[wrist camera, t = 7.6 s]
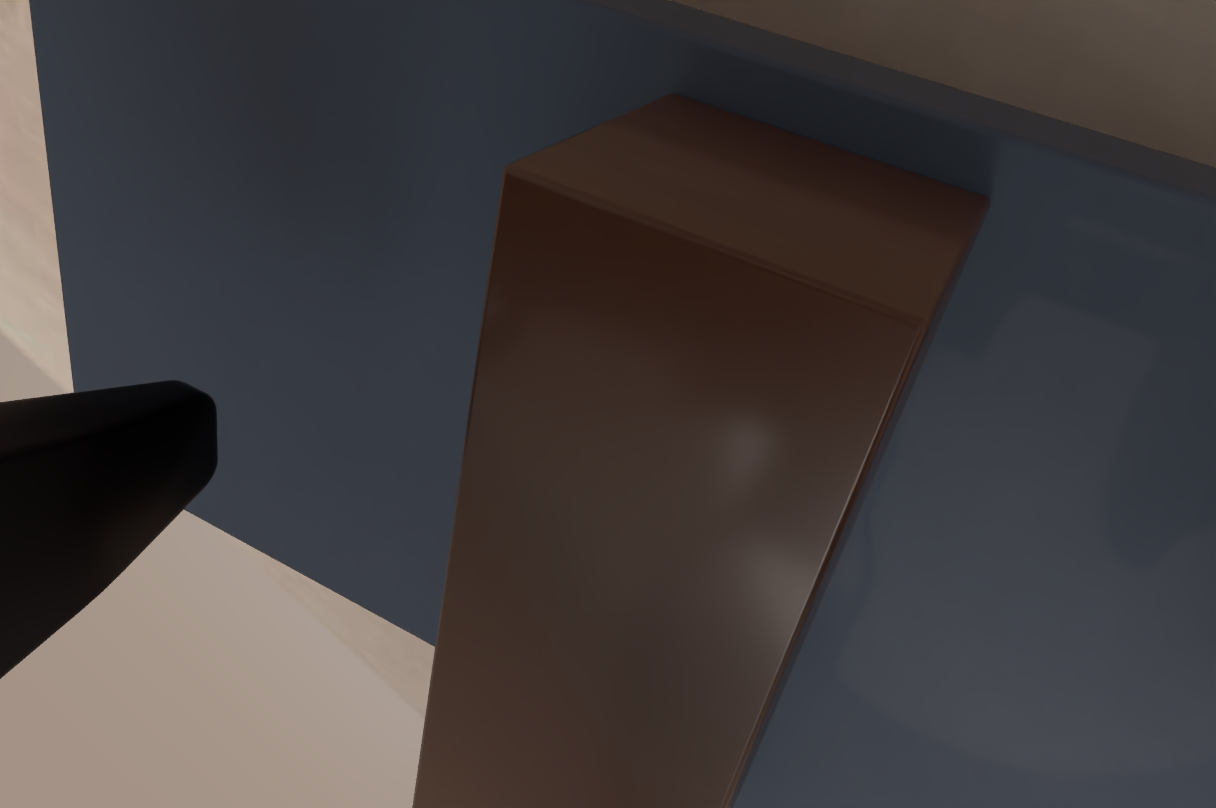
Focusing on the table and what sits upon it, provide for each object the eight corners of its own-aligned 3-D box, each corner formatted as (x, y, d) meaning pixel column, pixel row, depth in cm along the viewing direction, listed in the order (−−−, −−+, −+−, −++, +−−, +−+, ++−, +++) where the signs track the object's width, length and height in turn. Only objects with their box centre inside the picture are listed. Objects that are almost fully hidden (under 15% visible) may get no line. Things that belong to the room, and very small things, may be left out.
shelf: (1368, 797, 15) (1469, 1215, 10) (325, 323, 21) (78, 454, 16) (1884, 274, 10) (2508, 606, 6) (348, -162, 16) (5, -181, 11)
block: (741, 788, 13) (646, 1000, 10) (536, 679, 13) (405, 851, 11) (994, 197, 8) (930, 323, 6) (671, 90, 9) (500, 163, 7)
